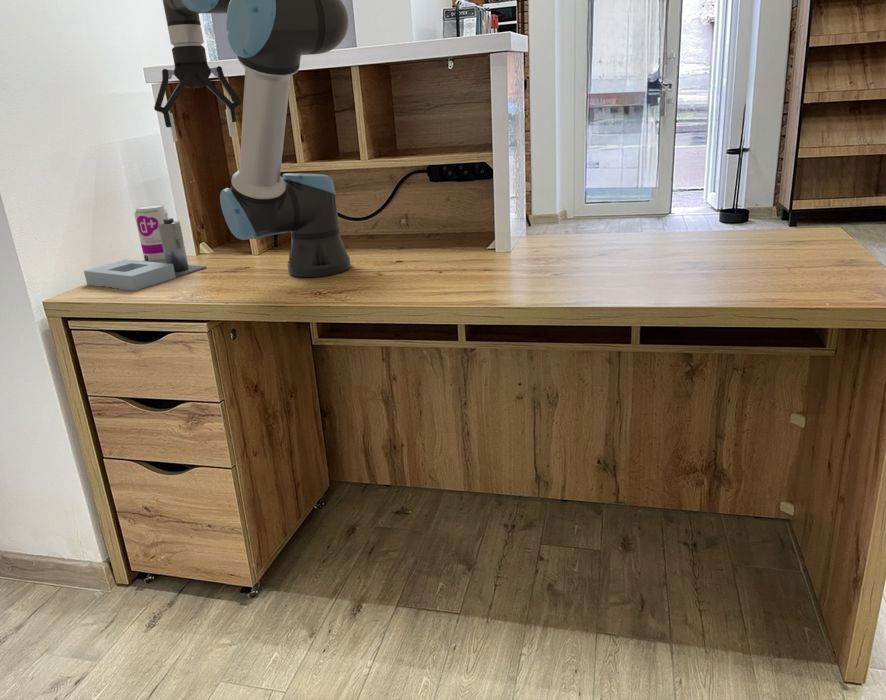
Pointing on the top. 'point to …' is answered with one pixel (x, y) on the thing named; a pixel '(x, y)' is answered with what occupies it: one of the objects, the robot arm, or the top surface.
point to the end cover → (173, 244)
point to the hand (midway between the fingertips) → (204, 139)
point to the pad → (189, 270)
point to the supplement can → (151, 231)
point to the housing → (130, 274)
